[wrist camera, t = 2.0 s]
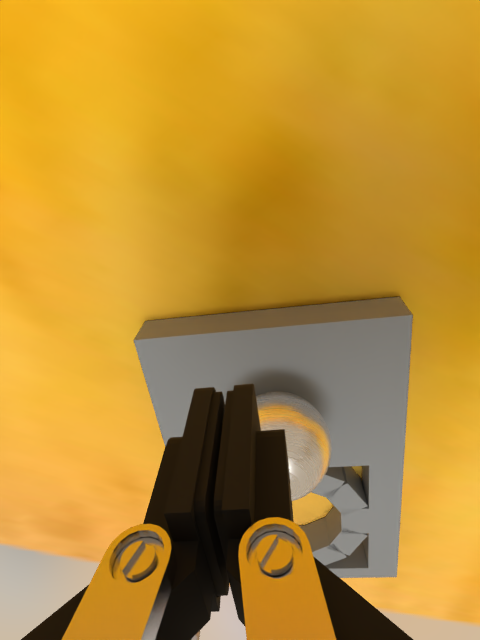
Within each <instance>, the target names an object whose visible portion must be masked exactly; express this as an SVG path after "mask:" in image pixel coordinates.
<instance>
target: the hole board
mask: <svg viewBox="0 0 480 640" xmlns="http://www.w3.org/2000/svg"><path fill="white" fill-rule="evenodd" d="M412 318H413V315H412V313H411V312H410V310H409V309H408V308H407V306H406V305H405V303H404V302H403V301H402V299H401V298H400V297H390V298H379V299H369V300H358V301H348V302H338V303H327V304H317V305H306V306H296V307H286V308H275V309H265V310H254V311H244V312H233V313H223V314H213V315H202V316H192V317H181V318H171V319H161V320H150V321H145V322H144V324H143V326H142V327H141V329H140V331H139V332H138V334H137V335H136V337H135V339H134V343H135V346H136V350H137V353H138V357H139V360H140V363H141V367H142V370H143V373H144V377H145V380H146V383H147V387H148V390H149V393H150V397H151V400H152V403H153V407H154V410H155V413H156V417H157V420H158V424H159V427H160V430H161V434H162V437H163V440H164V444H165V447H166V444H167V441H168V439H169V438H171V437H183V433H184V429H185V425H186V420H187V416H188V412H189V408H190V404H191V400H192V396H193V392H194V389H196V388H208V387H214V388H215V390H216V392H222V393H223V397H224V402H225V403H226V395H227V391H233V390H234V385H242V384H254V388H255V394H256V396H258V395H260V394H263V393H267V392H287V393H291V394H294V395H297V396H299V397H301V398H303V399H305V400H306V401H308V402H309V403H310V404H311V405H313V406H314V407H315V408H316V409H317V410H318V412H319V413H320V414H321V416H322V417H323V419H324V421H325V423H326V425H327V427H328V430H329V433H330V437H331V445H332V452H331V460H330V464H329V468H328V470H327V472H326V474H325V476H324V478H323V479H322V481H321V482H320V483H319V485H318V486H317V487H316V488H315V489H314V490H313V491H311V492H312V493H315V494H318V495H321V496H324V497H326V498H327V499H328V500H329V501H330V502H331V503H332V504H333V505H334V507H333V508H332V509H331V510H330V512H329V513H328V514H327V515H326V517H324V518H322V519H319V520H317V521H314V522H312V523H310V524H307V525H299V527H300V528H301V529H302V530H303V531H304V532H305V534H306V536H307V538H308V541H309V543H310V546H311V550H312V554H313V556H314V557H315V558H316V559H317V560H319V561H320V562H321V563H322V564H323V565H325V566H326V567H327V568H328V569H329V570H330V571H332V572H333V573H334V574H335V575H336V576H338V577H339V578H360V577H397V563H398V547H399V531H400V514H401V498H402V482H403V465H404V449H405V433H406V416H407V400H408V383H409V367H410V351H411V334H412ZM351 466H362V480H361V478H360V477H359V475H358V474H357V473H356V472H355V471H354V470H353V469H352V467H351Z"/></svg>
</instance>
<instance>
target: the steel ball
mask: <svg viewBox="0 0 480 640" xmlns="http://www.w3.org/2000/svg"><path fill="white" fill-rule="evenodd" d="M256 401H257V407H258V414H259V420H260V427H261V431H266V430H279V429H285V436H286V445H287V454H288V464H289V474H290V486H291V499H292V501H294V500H297V499H299V498H302V497H304V496H306V495H307V494H309V493H310V492H311V491H313V490H314V489H315V488H316V487H317V486H318V485H319V483H320V482H321V481H322V479H323V478H324V476H325V474H326V472H327V470H328V468H329V464H330V460H331V452H332V445H331V437H330V433H329V430H328V427H327V425H326V423H325V421H324V419H323V417H322V416H321V414H320V413H319V412H318V410H317V409H316V408H315V407H314V406H313V405H311V404H310V403H309V402H308V401H306V400H305V399H303V398H301V397H299V396H297V395H294V394H291V393H287V392H267V393H263V394H260V395H258V396H256Z"/></svg>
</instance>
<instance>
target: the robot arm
mask: <svg viewBox="0 0 480 640" xmlns="http://www.w3.org/2000/svg"><path fill="white" fill-rule="evenodd" d="M229 583H230V587H231V591H232V594H233V598H234V602H235V606H236V610H237V614H238V618H239V620H240V621H241V622H242V623H243V624H244V626H245V627H246V636H247V640H413V639H412V638H411V637H409V636H408V635H407V634H406V633H404V632H403V631H402V630H401V629H400V628H399V627H397V626H396V625H395V624H394V623H393V622H391V621H390V620H389V619H388V618H387V617H385V616H384V615H383V614H382V613H381V612H380V611H378V610H377V609H376V608H375V607H374V606H372V605H371V604H370V603H369V602H368V601H366V600H365V599H364V598H363V597H362V596H360V595H359V594H358V593H357V592H356V591H354V590H353V589H352V588H351V587H350V586H348V585H347V584H346V583H345V582H344V581H342V580H341V579H340V578H339V577H338V576H336V575H335V574H334V573H333V572H332V571H330V570H329V569H328V568H327V567H326V566H325V565H323V564H322V563H321V562H320V561H319V560H317V559H316V558H315V557H314V556H313V554H312V550H311V546H310V543H309V541H308V538H307V536H306V534H305V532H304V531H303V530H302V529H301V528H300V527H299V526H298V525H297V524H295V523H293V511H292V499H291V486H290V474H289V464H288V454H287V445H286V436H285V429H279V430H266V431H261V427H260V420H259V414H258V407H257V401H256V394H255V388H254V384H242V385H234V390H233V391H227V395H226V403H225V402H224V397H223V393H222V392H216V390H215V388H214V387H208V388H196V389H194V392H193V396H192V400H191V404H190V408H189V412H188V416H187V420H186V425H185V429H184V433H183V437H171V438H169V439H168V441H167V444H166V447H165V451H164V454H163V458H162V461H161V464H160V468H159V471H158V475H157V478H156V482H155V485H154V489H153V492H152V496H151V499H150V503H149V506H148V509H147V513H146V516H145V520H144V523H143V524H140V525H137V526H134V527H131V528H129V529H127V530H126V531H124V532H123V533H121V534H120V535H119V536H118V537H117V538H116V539H115V540H114V541H113V542H112V543H111V544H110V546H109V547H108V549H107V551H106V552H105V554H104V556H103V558H102V560H101V562H100V564H99V566H98V568H97V570H96V572H95V574H94V576H93V578H92V580H91V582H90V584H89V585H88V586H87V587H85V588H84V589H83V590H82V591H80V592H79V593H78V594H77V595H76V596H75V597H73V598H72V599H71V600H69V601H68V602H67V603H66V604H64V605H63V606H62V607H61V608H59V609H58V610H57V611H56V612H54V613H53V614H52V615H51V616H50V617H48V618H47V619H46V620H45V621H43V622H42V623H41V624H40V625H38V626H37V627H36V628H35V629H33V630H32V631H31V632H30V633H29V634H27V635H26V636H25V637H24V638H22V639H21V640H199V637H200V630H201V628H202V627H203V626H204V625H205V624H206V623H207V622H208V621H209V620H210V615H211V611H219V608H220V597H221V596H223V595H228V591H229Z"/></svg>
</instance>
